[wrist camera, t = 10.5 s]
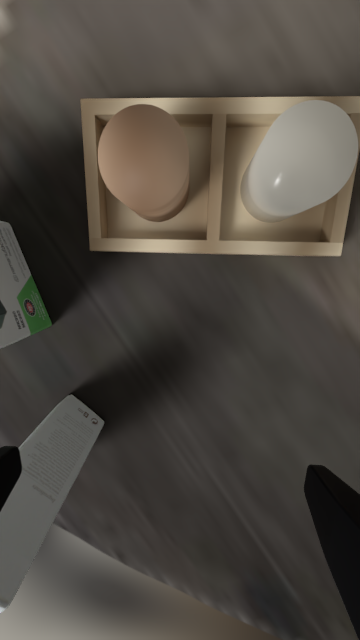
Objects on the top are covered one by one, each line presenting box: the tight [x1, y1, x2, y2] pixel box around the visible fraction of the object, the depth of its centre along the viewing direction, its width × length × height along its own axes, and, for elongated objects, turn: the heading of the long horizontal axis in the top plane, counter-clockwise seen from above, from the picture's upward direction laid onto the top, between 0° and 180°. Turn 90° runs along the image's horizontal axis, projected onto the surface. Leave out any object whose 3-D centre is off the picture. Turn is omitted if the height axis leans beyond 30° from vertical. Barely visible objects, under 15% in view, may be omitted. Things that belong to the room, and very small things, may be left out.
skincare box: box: [0, 395, 104, 613], centre depth 16 cm, size 6×4×12 cm
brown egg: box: [98, 104, 189, 222], centre depth 14 cm, size 4×4×5 cm
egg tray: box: [80, 96, 360, 256], centre depth 16 cm, size 16×9×2 cm, turn 89°
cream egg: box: [240, 100, 358, 223], centre depth 14 cm, size 4×4×5 cm
